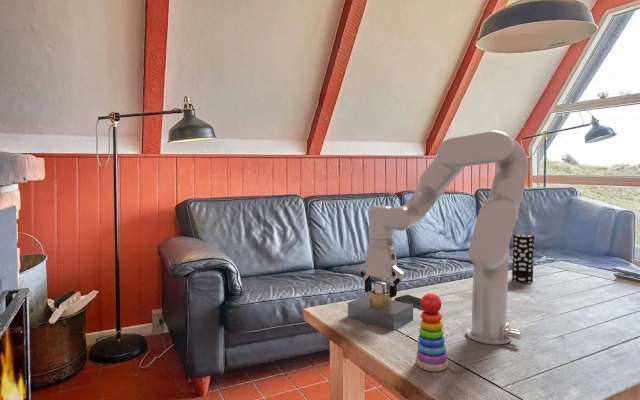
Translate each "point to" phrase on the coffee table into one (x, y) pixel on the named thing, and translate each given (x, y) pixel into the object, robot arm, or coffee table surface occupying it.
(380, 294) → the grey peg board
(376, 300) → the bronze ring
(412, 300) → the phone
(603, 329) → the coffee table surface
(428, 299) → the stacking toy
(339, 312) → the coffee table surface
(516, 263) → the spotted tube
